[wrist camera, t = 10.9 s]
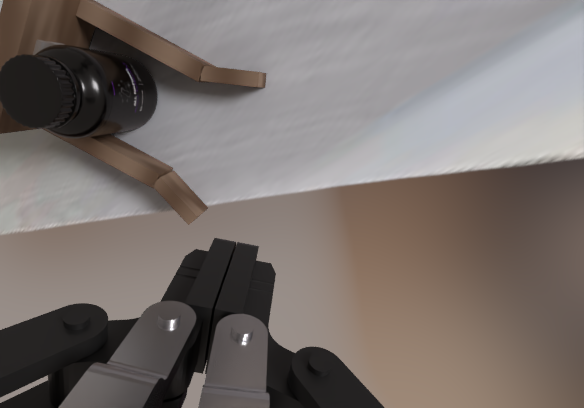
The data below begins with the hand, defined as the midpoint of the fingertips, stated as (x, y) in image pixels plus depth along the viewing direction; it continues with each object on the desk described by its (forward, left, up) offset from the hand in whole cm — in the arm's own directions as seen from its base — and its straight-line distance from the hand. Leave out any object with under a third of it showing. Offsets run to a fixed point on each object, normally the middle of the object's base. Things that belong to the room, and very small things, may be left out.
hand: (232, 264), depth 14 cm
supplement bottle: (+16, -8, -25) cm, 31 cm away
